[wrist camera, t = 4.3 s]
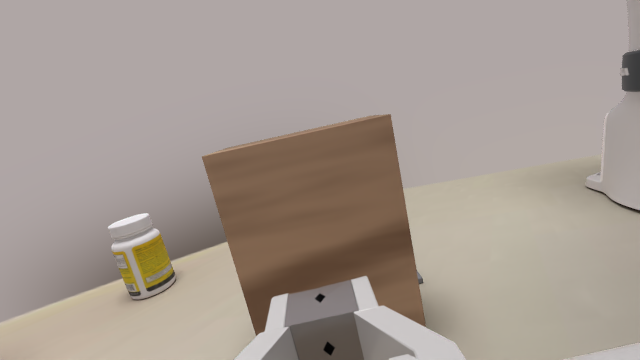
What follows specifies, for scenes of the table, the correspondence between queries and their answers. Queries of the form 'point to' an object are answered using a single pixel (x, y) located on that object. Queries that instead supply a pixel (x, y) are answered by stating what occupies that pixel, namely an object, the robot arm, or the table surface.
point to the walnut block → (317, 214)
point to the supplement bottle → (141, 256)
